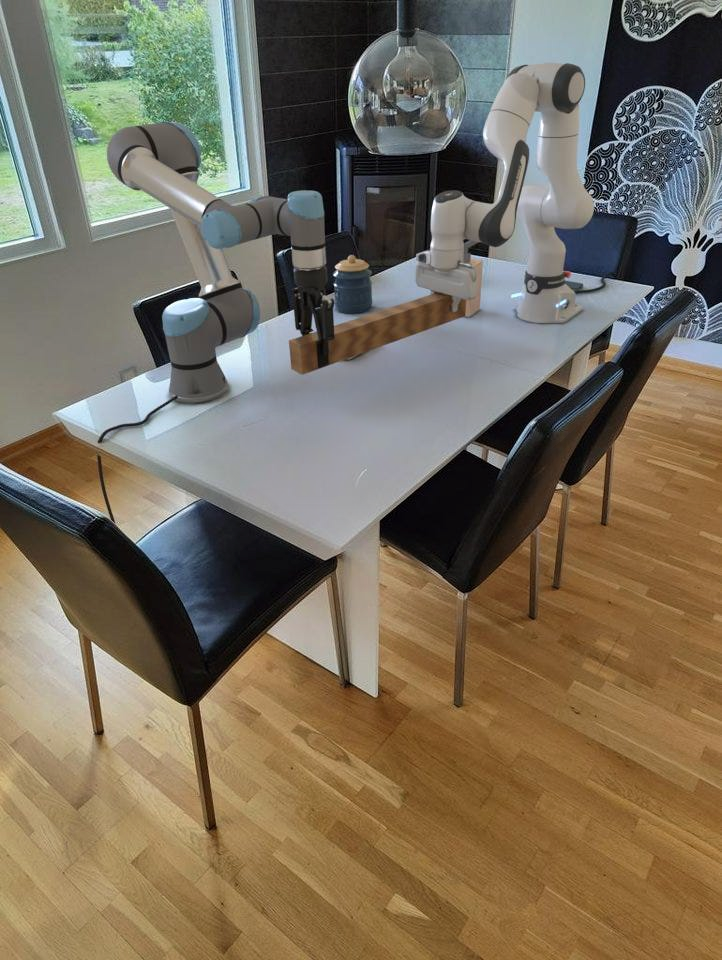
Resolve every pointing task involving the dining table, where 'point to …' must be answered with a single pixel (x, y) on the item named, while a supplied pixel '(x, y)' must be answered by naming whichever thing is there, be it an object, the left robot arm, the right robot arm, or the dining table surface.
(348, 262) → the canister
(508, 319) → the dining table surface
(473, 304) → the soap dispenser
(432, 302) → the post
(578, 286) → the smartphone
